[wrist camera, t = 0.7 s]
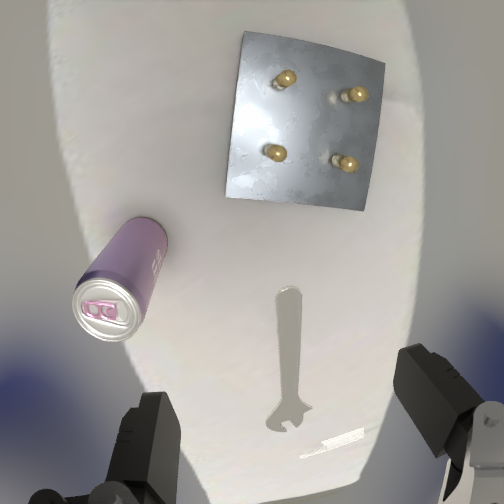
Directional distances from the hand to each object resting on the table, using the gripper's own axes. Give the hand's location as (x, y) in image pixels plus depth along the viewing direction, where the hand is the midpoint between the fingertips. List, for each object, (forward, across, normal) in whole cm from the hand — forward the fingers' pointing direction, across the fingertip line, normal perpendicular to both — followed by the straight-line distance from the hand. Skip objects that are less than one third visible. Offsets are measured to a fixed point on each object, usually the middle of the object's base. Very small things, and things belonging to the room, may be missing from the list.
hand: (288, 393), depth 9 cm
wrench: (+30, -4, +25) cm, 39 cm away
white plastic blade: (+32, -12, +51) cm, 61 cm away
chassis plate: (+26, -9, -10) cm, 29 cm away
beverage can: (+27, +11, +1) cm, 29 cm away
